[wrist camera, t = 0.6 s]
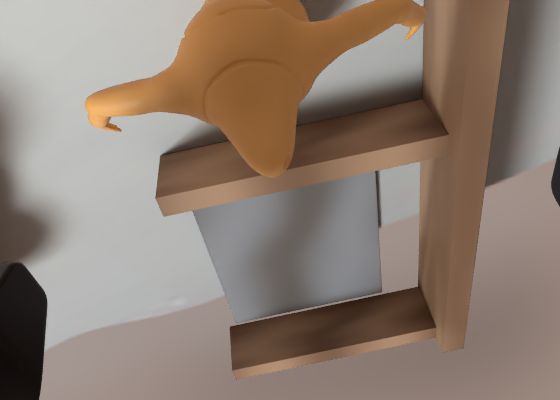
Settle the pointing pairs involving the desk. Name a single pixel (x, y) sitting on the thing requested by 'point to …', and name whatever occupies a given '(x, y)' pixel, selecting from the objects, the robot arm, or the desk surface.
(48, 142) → the desk surface
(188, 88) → the figurine
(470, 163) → the notched stand
